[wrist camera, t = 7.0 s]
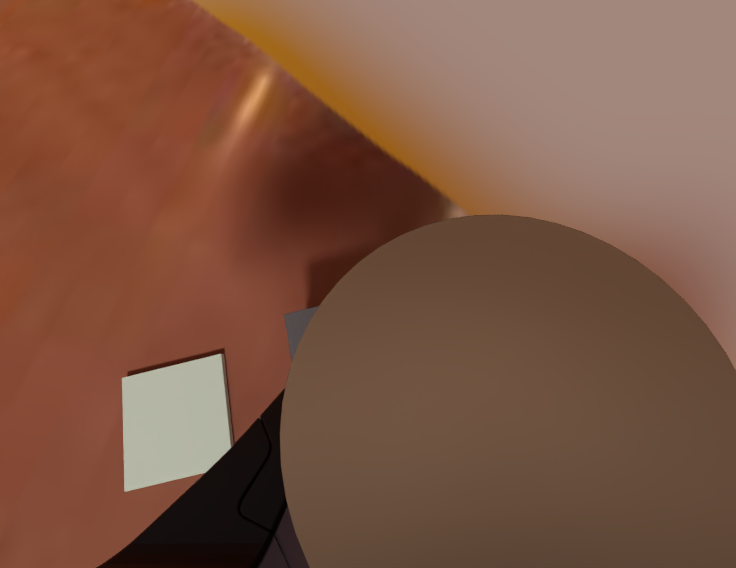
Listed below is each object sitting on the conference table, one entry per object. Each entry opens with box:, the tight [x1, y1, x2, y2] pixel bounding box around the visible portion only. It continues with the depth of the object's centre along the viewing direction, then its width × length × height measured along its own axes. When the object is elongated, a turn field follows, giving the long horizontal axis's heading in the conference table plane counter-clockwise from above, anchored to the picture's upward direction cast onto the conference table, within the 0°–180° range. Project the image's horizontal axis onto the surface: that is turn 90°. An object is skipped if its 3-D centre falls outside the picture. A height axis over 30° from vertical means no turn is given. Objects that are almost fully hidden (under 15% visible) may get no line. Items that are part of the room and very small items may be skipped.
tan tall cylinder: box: [280, 215, 736, 568], centre depth 8 cm, size 4×4×12 cm
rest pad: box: [122, 354, 234, 492], centre depth 21 cm, size 7×7×1 cm
